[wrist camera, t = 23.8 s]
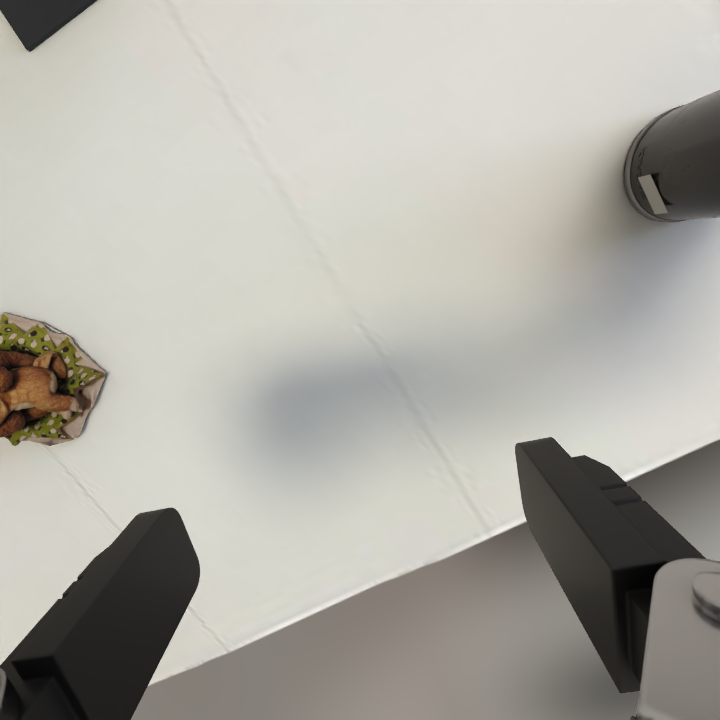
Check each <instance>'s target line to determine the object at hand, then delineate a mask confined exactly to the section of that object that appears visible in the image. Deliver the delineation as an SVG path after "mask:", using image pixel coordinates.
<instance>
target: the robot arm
mask: <svg viewBox="0 0 720 720" xmlns="http://www.w3.org/2000/svg"><path fill="white" fill-rule="evenodd" d="M624 182H625V188H626V192H627V195H628V197H629V200H630V201H631V203H632V204H633V206H634V207H635V208H636V209H637V210H638V211H639V212H640V213H641V214H642V215H644V216H646V217H648V218H650V219H652V220H656V221H660V222H676V221H683V220H687V219H703V218H716V217H720V90H718V91H716V92H714V93H711V94H709V95H707V96H704V97H702V98H700V99H697V100H695V101H693V102H691V103H688V104H686V105H682V106H679V107H676V108H674V109H671V110H669V111H667V112H665V113H663V114H661V115H660V116H658V117H657V118H655V119H654V120H653V121H651V122H650V123H649V124H648V125H647V126H646V127H645V128H644V129H643V130H642V131H641V133H640V134H639V135H638V137H637V138H636V140H635V141H634V143H633V145H632V147H631V149H630V151H629V154H628V156H627V160H626V164H625V171H624ZM515 454H516V461H517V469H518V476H519V483H520V490H521V498H522V504H523V509H524V513H525V517H526V520H527V523H528V525H529V528H530V530H531V532H532V534H533V536H534V538H535V540H536V542H537V543H538V545H539V547H540V548H541V550H542V552H543V554H544V556H545V558H546V560H547V562H548V563H549V565H550V567H551V569H552V571H553V572H554V574H555V576H556V578H557V580H558V581H559V583H560V585H561V587H562V589H563V591H564V592H565V594H566V596H567V598H568V600H569V601H570V603H571V605H572V607H573V609H574V611H575V612H576V614H577V616H578V617H579V620H580V621H581V623H582V625H583V627H584V629H585V630H586V632H587V634H588V636H589V638H590V640H591V641H592V643H593V645H594V647H595V649H596V650H597V652H598V654H599V656H600V658H601V660H602V661H603V663H604V665H605V667H606V669H607V670H608V672H609V674H610V676H611V678H612V679H613V681H614V683H615V685H616V687H617V689H618V690H619V692H620V693H626V692H634V691H640V694H639V702H638V709H637V714H636V717H634V716H632V717H631V718H630V720H720V561H714V560H710V559H706V558H705V557H704V556H702V554H701V553H700V552H699V551H698V550H696V549H695V548H694V547H693V546H692V545H691V544H690V543H689V542H688V541H687V540H686V539H685V538H684V537H683V536H682V535H681V534H679V533H678V532H677V531H676V530H675V529H674V528H673V527H672V526H671V525H670V524H669V523H668V522H667V521H666V520H665V519H664V518H663V517H662V516H661V515H659V514H658V513H657V512H656V511H655V510H654V509H653V508H652V507H651V506H650V505H649V504H648V503H647V502H646V501H642V499H641V497H640V496H639V495H638V494H637V493H636V492H635V491H634V490H633V489H632V488H631V487H630V486H629V487H628V486H627V485H626V482H625V481H624V480H622V479H621V478H620V477H619V476H618V475H617V474H616V473H615V472H614V471H613V470H612V469H611V468H610V467H608V466H606V465H604V464H602V463H600V462H598V461H596V460H594V459H592V458H589V457H587V456H585V455H583V456H578V457H572V458H571V456H570V455H569V454H568V453H567V452H566V451H565V450H564V449H563V448H562V447H561V446H560V445H559V444H558V442H557V441H556V440H555V439H554V438H552V437H549V438H543V439H538V440H533V441H527V442H522V443H517V444H516V446H515ZM199 577H200V565H199V560H198V557H197V555H196V552H195V550H194V548H193V545H192V543H191V540H190V538H189V535H188V533H187V531H186V528H185V526H184V523H183V521H182V519H181V516H180V514H179V513H178V511H177V510H176V509H174V508H166V509H160V510H155V511H150V512H144V513H140V514H138V515H137V516H136V517H135V518H134V519H133V520H132V521H131V522H130V523H129V524H128V526H127V527H126V528H125V529H124V530H123V531H122V533H121V534H120V535H119V536H118V537H117V538H116V540H115V541H114V542H113V543H112V544H111V545H110V546H109V547H108V548H106V549H105V550H104V551H103V552H101V553H100V554H99V555H98V556H96V557H95V558H94V559H93V560H92V562H91V563H90V564H89V565H88V566H87V567H86V568H85V570H84V571H83V572H82V573H81V574H80V575H79V576H78V580H77V581H75V582H73V583H72V584H71V585H70V587H69V588H68V589H67V590H66V591H65V592H64V593H63V597H62V599H58V600H57V601H56V603H55V604H54V605H53V606H52V607H51V608H50V609H49V611H48V612H47V613H46V614H45V615H44V616H43V617H42V619H41V620H40V621H39V622H38V623H37V624H36V625H35V627H34V628H33V629H32V630H31V631H30V632H29V633H28V635H27V636H26V637H25V638H24V639H23V640H22V641H21V643H20V644H19V645H18V646H17V647H16V648H15V649H14V651H13V652H12V653H11V654H10V655H9V656H8V657H7V658H6V660H5V661H4V662H3V663H2V664H1V665H0V720H131V718H132V716H133V714H134V712H135V710H136V708H137V706H138V704H139V702H140V700H141V698H142V696H143V694H144V692H145V690H146V688H147V686H148V684H149V682H150V680H151V678H152V676H153V674H154V672H155V670H156V668H157V666H158V664H159V662H160V660H161V658H162V656H163V654H164V652H165V650H166V648H167V646H168V644H169V642H170V640H171V638H172V636H173V634H174V632H175V631H176V629H177V627H178V625H179V623H180V621H181V619H182V617H183V615H184V613H185V611H186V609H187V607H188V605H189V603H190V601H191V599H192V597H193V595H194V593H195V591H196V589H197V586H198V583H199Z"/></svg>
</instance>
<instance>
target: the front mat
mask: <svg viewBox="0 0 720 720" xmlns="http://www.w3.org/2000/svg"><path fill="white" fill-rule="evenodd" d="M95 1H96V0H0V10H1V12H2V13H3V15H4V16H5V18H6V19H7V21H8V22H9V24H10V25H11V27H12V28H13V30H14V31H15V33H16V34H17V36H18V37H19V39H20V40H21V42H22V43H23V45H24V46H25V48H26V49H27V50H28V51H31V50H32V49H34V48H35V47H36V46H38V45H39V44H40V43H42V42H43V41H44V40H45V39H47V38H48V37H49V36H51V35H52V34H53V33H55V32H56V31H57V30H58V29H60V28H61V27H62V26H64V25H65V24H66V23H68V22H69V21H70V20H72V19H73V18H74V17H75V16H77V15H78V14H79V13H81V12H82V11H83V10H85V9H86V8H87V7H88V6H90V5H91V4H92V3H94V2H95Z"/></svg>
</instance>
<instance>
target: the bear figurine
mask: <svg viewBox="0 0 720 720" xmlns="http://www.w3.org/2000/svg"><path fill="white" fill-rule="evenodd" d="M45 324H46V323H45ZM47 325H48V324H47ZM48 326H50V325H48ZM50 327H51V326H50ZM52 328H53V327H52ZM54 329H55V328H54ZM56 330H57V329H56ZM58 331H59V330H58ZM60 332H61V331H60ZM61 333H62V332H61ZM61 333H53V332H51V331H50V330H48V329H47V328H46V327H45V326H44V325H43V323H42V322H40V321H33V320H29V319H26V318H22V317H19V316H15V315H12V314H8V313H5V312H4V313H3V314H2V315H0V437H5V438H7V439H9V441H10V442H11V443H12V445H14V446H16V445H18V444H19V443H20V442H21V441H25V440H30V441H33V442H37V443H41V444H45V445H49V446H51V445H55V444H58V443H62V442H66V441H70V440H73V439H74V438H76V437H79V435H80V432H81V429H82V427H83V425H84V422H85V419H86V417H87V415H88V412H89V411H90V410H91V409H92V407H93V405H94V403H95V400H96V398H97V395H98V393H99V391H100V388H101V386H102V383H103V381H104V379H105V375H106V373H105V372H104V371H103V370H102V369H101V368H100V367H99V366H98V365H97V364H96V363H94V362H93V361H92V360H91V359H90V358H89V357H88V356H87V355H86V354H84V353H83V352H82V351H81V350H80V349H79V348H78V347H77V346H75V344H74V342H73V340H72V338H71V337H70V336H68V335H66V334H64V333H63V334H61Z"/></svg>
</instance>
